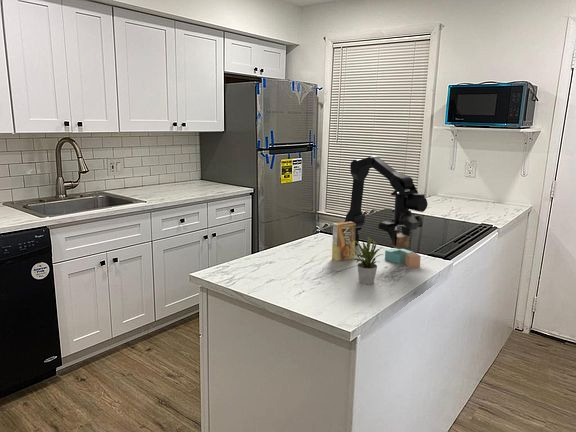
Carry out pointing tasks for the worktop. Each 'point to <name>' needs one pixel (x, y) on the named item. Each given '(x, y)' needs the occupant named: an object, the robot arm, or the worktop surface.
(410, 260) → the terracotta cube
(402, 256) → the teal base block
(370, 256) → the house plant
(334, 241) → the candy box
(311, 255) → the worktop surface
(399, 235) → the walnut cube
